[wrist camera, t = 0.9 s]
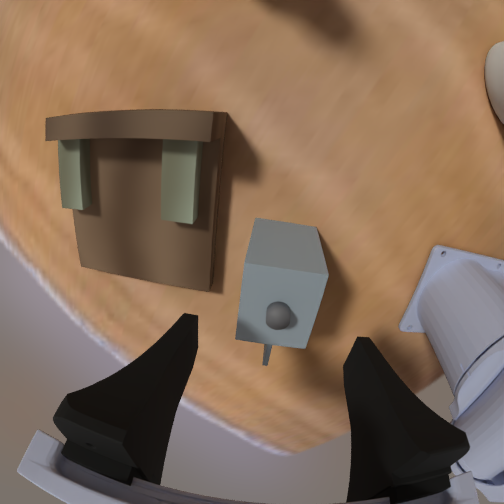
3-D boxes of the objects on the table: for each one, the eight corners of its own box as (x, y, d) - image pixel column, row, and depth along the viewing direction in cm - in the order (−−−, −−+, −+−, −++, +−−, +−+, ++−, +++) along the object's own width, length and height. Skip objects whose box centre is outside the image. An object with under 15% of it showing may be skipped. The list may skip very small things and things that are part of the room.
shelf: (227, 112, 16) (213, 112, 13) (212, 282, 21) (200, 314, 18) (79, 113, 16) (45, 118, 13) (88, 259, 22) (64, 282, 18)
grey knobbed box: (316, 226, 19) (331, 284, 13) (294, 314, 22) (296, 383, 16) (255, 217, 19) (242, 271, 13) (243, 307, 22) (230, 375, 16)
